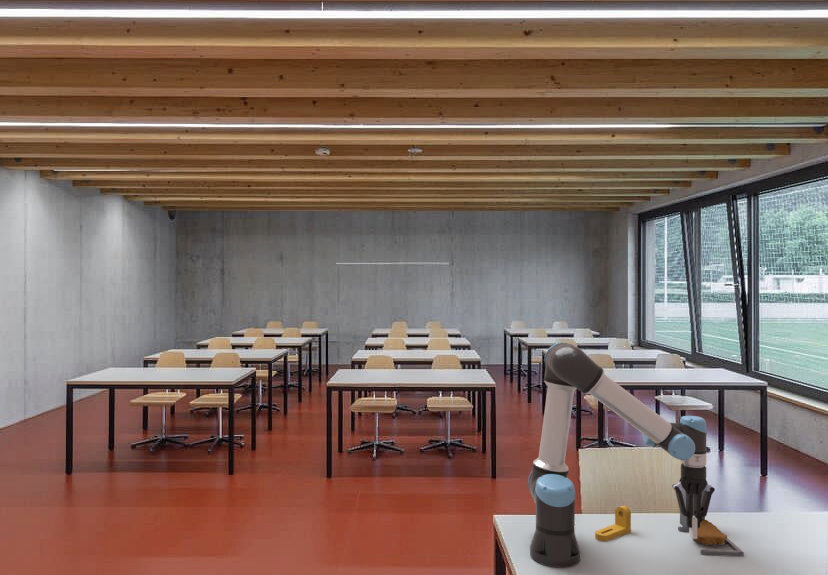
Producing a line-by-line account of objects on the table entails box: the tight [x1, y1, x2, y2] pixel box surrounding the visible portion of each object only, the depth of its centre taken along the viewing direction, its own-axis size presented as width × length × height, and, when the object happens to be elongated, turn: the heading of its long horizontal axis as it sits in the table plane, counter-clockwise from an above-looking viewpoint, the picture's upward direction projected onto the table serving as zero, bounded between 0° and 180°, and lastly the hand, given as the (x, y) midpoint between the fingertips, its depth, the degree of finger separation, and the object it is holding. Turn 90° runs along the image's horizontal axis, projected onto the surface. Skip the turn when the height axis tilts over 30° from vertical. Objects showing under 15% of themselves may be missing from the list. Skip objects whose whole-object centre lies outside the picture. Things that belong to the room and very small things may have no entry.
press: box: [677, 487, 745, 557], centre depth 193 cm, size 13×25×16 cm, turn 177°
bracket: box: [594, 505, 632, 542], centre depth 196 cm, size 15×4×8 cm, turn 126°
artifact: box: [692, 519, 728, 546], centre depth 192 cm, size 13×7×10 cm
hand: (693, 537), depth 189 cm, fingers closed
